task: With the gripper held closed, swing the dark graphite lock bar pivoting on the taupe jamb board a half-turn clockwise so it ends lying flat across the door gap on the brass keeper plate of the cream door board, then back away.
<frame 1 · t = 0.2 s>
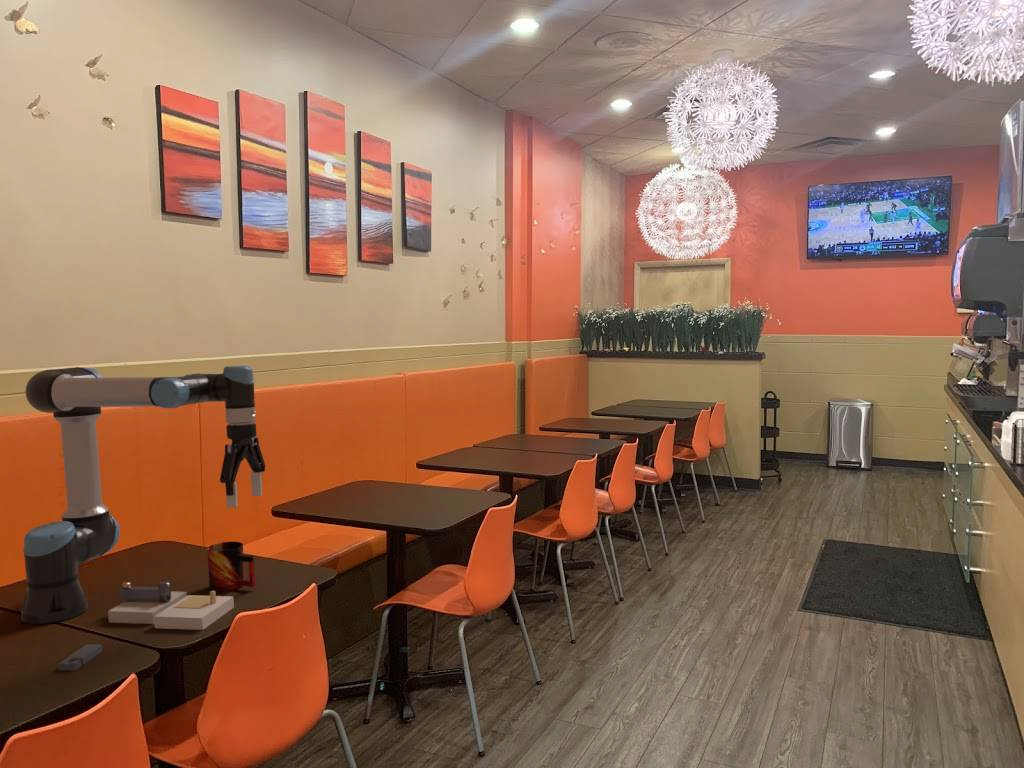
hand: (245, 501, 204), 28 cm above the table, fingers open, 13 cm apart
door slab: (195, 617, 195), on the table
bracket: (81, 662, 171), on the table
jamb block: (149, 612, 200), on the table
lock bar: (146, 591, 199), point 6 cm above the table, hinge at 180.0°
mug: (234, 587, 218), on the table
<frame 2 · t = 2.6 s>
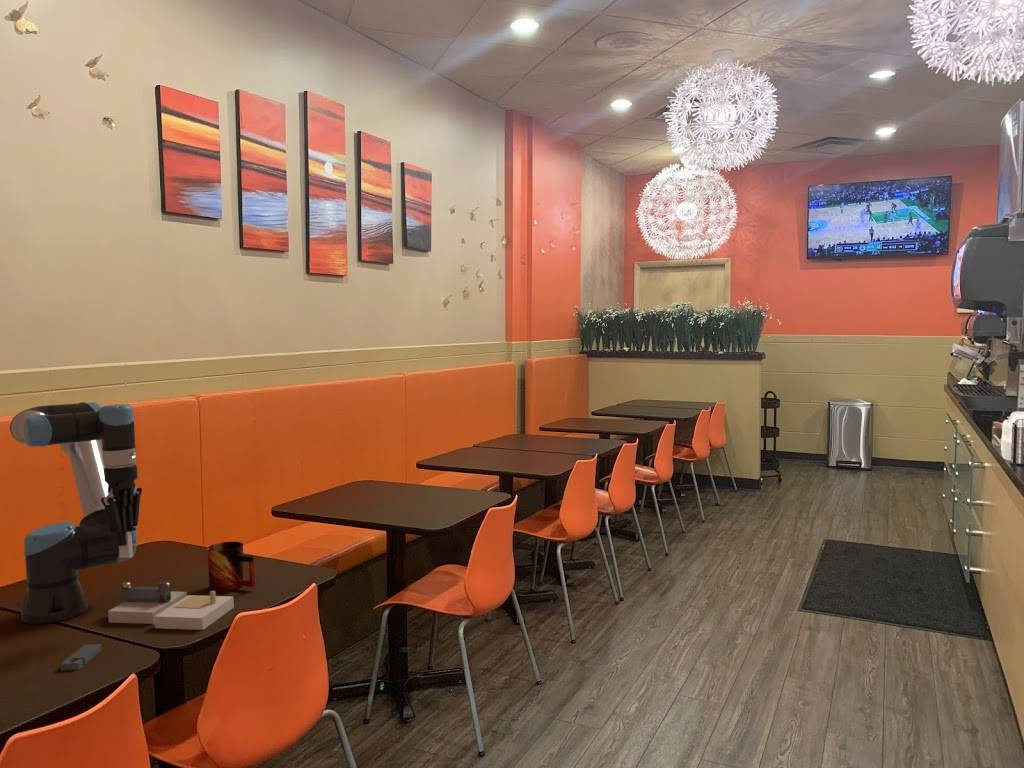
hand: (126, 556, 193), 17 cm above the table, fingers closed
nothing on the table moved.
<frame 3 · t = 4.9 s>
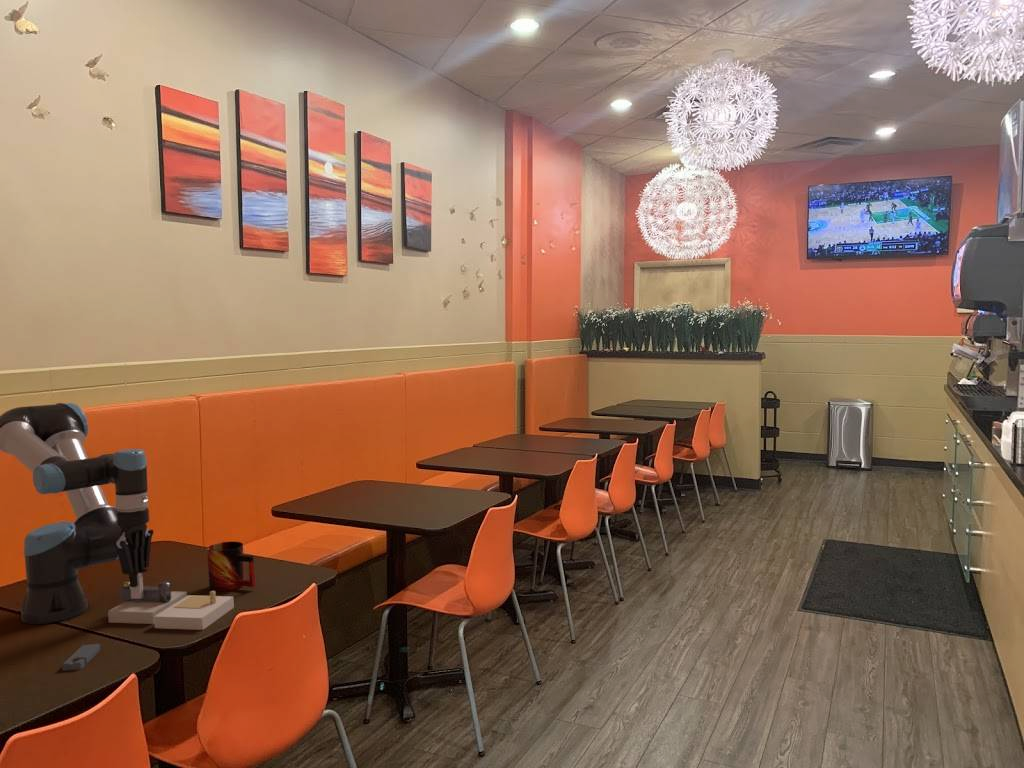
hand: (137, 597, 198), 4 cm above the table, fingers closed
lock bar: (146, 590, 199), point 6 cm above the table, hinge at 177.9°, touching gripper
everything else where it was.
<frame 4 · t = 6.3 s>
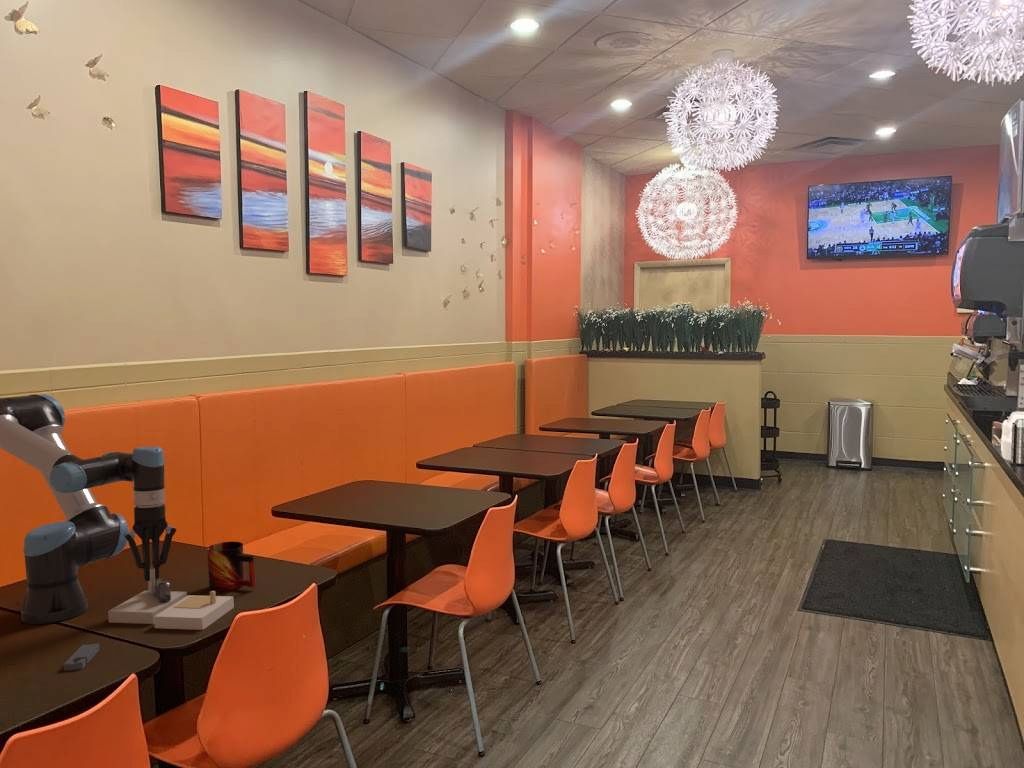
hand: (152, 591, 203), 4 cm above the table, fingers closed
lock bar: (159, 586, 203), point 6 cm above the table, hinge at 135.9°, touching gripper
everything else where it was.
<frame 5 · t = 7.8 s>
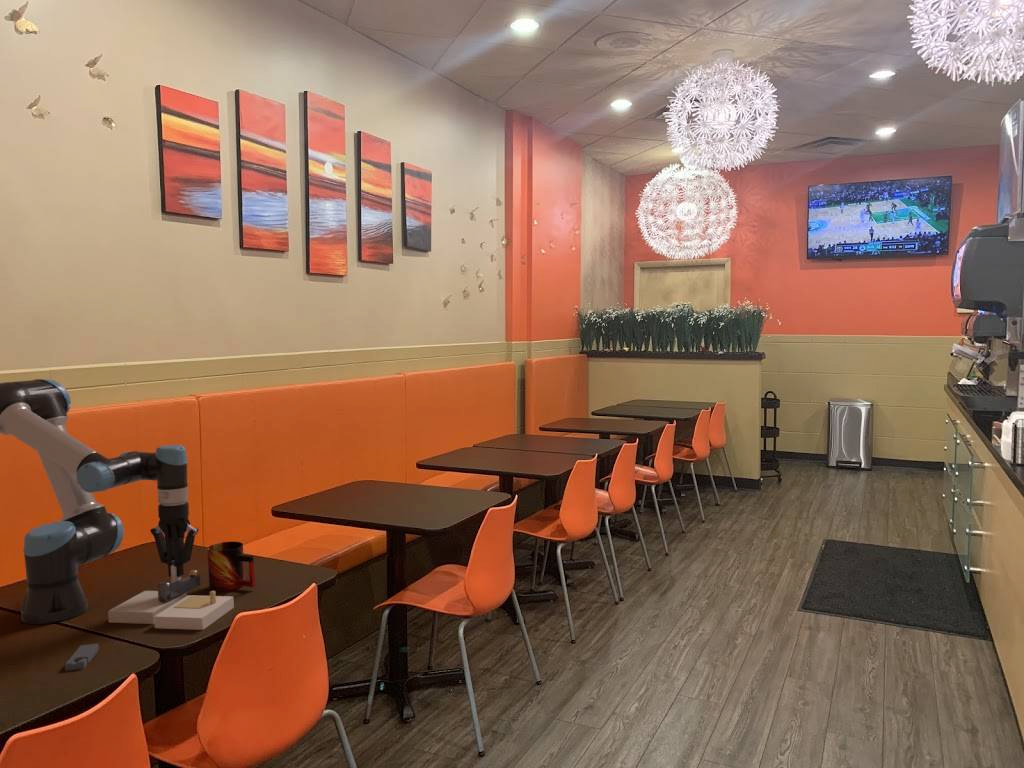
hand: (176, 588, 205), 4 cm above the table, fingers closed
lock bar: (179, 584, 204), point 6 cm above the table, hinge at 80.9°, touching gripper
everything else where it was.
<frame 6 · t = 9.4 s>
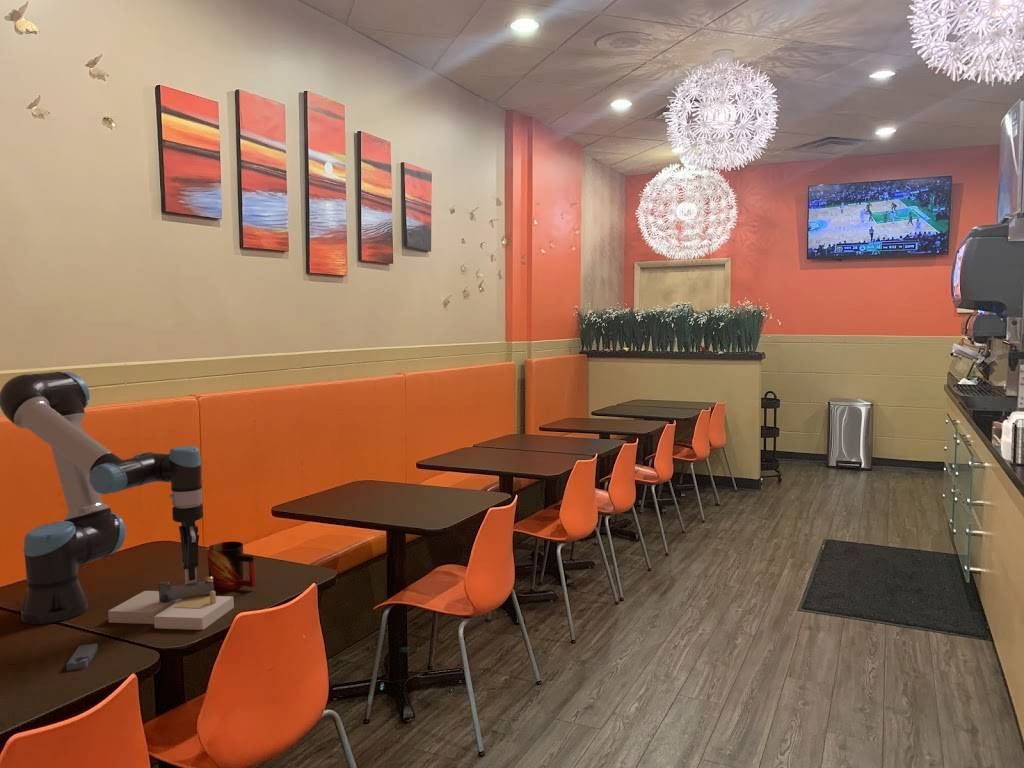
hand: (191, 590, 203), 4 cm above the table, fingers closed
lock bar: (186, 588, 201), point 6 cm above the table, hinge at 33.2°, touching gripper
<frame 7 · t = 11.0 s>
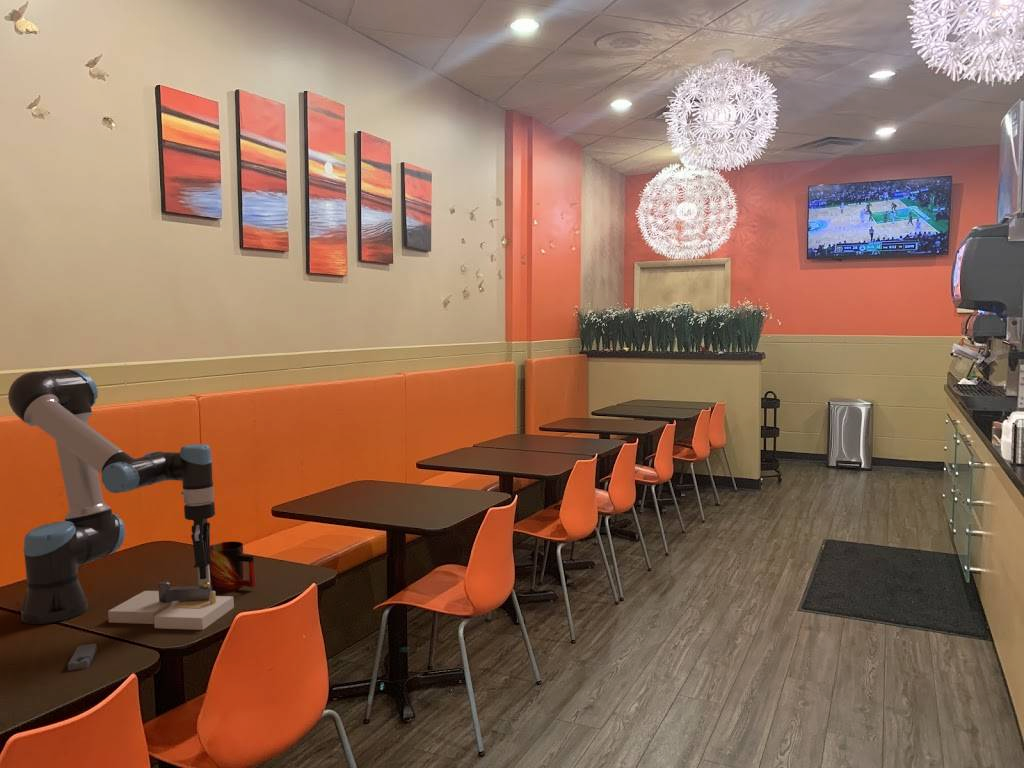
hand: (204, 589, 202), 5 cm above the table, fingers closed
lock bar: (184, 590, 199), point 6 cm above the table, hinge at 9.9°
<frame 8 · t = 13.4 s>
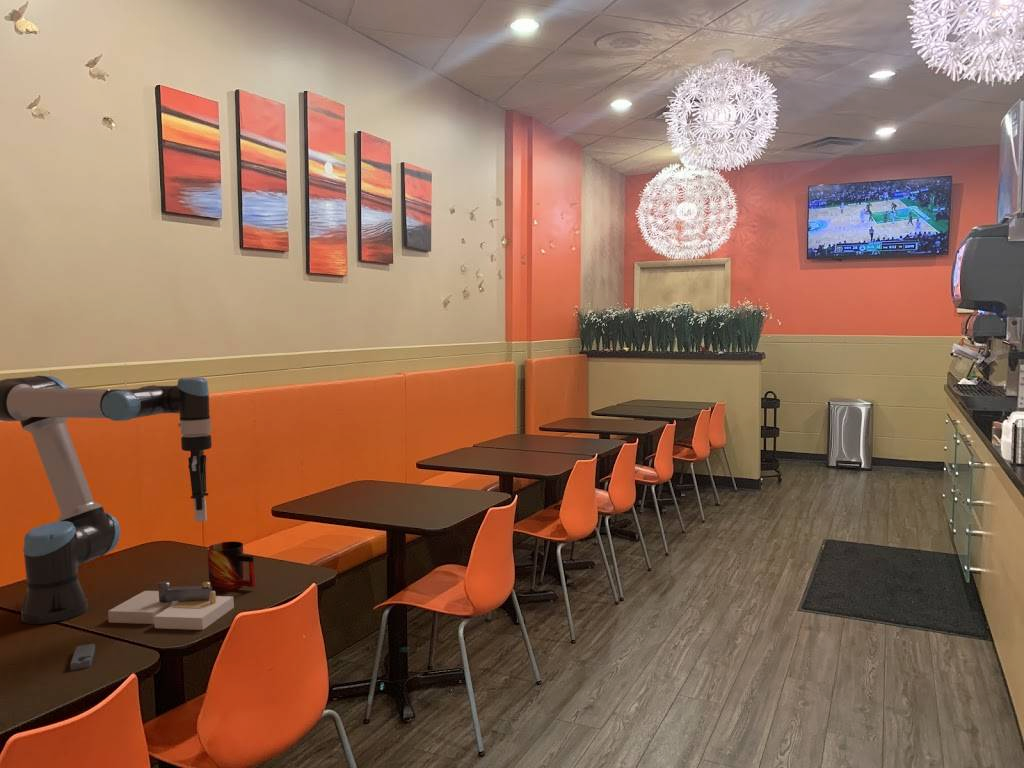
hand: (201, 520, 205), 22 cm above the table, fingers closed
at the end: lock bar at +10° (first picture: +180°) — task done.
